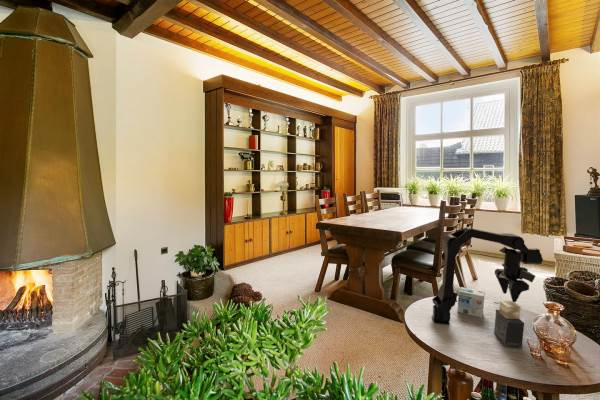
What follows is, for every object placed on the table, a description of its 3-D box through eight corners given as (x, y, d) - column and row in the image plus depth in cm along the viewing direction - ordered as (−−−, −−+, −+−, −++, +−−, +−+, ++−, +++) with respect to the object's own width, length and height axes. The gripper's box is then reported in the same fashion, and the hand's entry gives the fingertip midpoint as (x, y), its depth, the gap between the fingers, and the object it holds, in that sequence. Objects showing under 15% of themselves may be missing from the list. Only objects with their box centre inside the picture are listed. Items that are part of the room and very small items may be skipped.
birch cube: (506, 318, 119) (507, 306, 118) (499, 312, 124) (500, 300, 123) (519, 319, 118) (520, 307, 118) (511, 313, 123) (512, 301, 123)
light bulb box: (457, 312, 146) (458, 290, 145) (458, 307, 152) (460, 286, 151) (482, 318, 140) (484, 296, 139) (483, 312, 146) (485, 291, 144)
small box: (523, 349, 116) (525, 323, 115) (504, 347, 117) (506, 321, 116) (510, 334, 126) (512, 310, 125) (493, 332, 128) (494, 309, 127)
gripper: (545, 271, 120) (542, 309, 121) (522, 258, 138) (519, 291, 139) (514, 269, 122) (511, 306, 124) (495, 256, 140) (493, 288, 142)
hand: (509, 297), depth 132 cm, fingers open, 9 cm apart
